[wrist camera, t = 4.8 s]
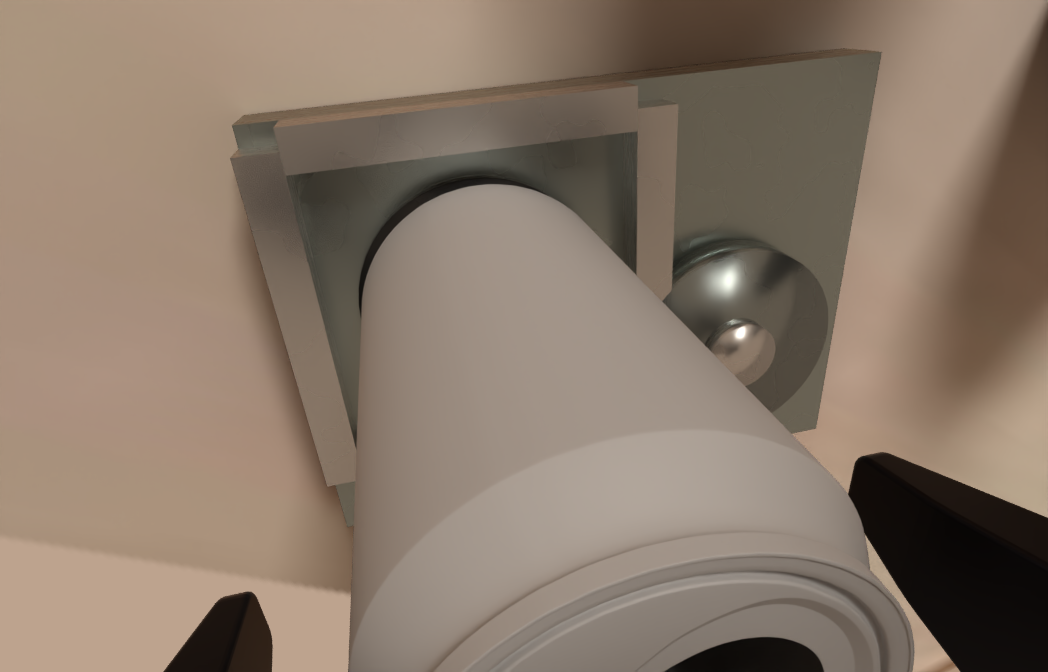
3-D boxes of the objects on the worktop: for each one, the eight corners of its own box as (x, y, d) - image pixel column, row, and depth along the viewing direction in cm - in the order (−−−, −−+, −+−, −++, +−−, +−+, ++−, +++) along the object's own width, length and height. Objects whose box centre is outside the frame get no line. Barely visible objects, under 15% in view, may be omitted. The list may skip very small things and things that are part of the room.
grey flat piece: (843, 48, 18) (926, 55, 15) (790, 404, 23) (844, 455, 21) (244, 115, 15) (217, 138, 13) (348, 494, 21) (345, 563, 18)
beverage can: (636, 324, 18) (991, 747, 8) (445, 436, 19) (542, 984, 8) (533, 124, 15) (899, 389, 5) (306, 264, 15) (174, 801, 5)
